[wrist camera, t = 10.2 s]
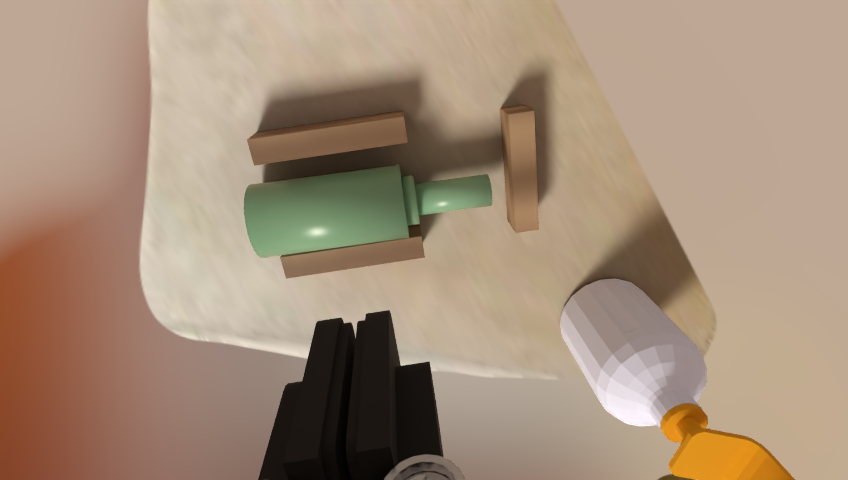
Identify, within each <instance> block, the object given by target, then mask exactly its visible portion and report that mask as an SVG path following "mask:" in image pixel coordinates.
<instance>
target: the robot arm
mask: <svg viewBox="0 0 848 480" xmlns="http://www.w3.org/2000/svg"><path fill="white" fill-rule="evenodd" d="M258 480H466V479H465V477H464V475H463V474H462V472H461V470H460V468H459V467H458V466H456V465H455V464H454V463H453V462H452V461H450V460H448V459H446V458H444V457H443V450H442V443H441V435H440V428H439V421H438V414H437V407H436V400H435V393H434V387H433V380H432V374H431V368H430V362H424V363H417V364H411V365H405V366H401V365H400V360H399V355H398V350H397V344H396V339H395V334H394V328H393V323H392V318H391V313H390V311H389V310H388V311H381V312H375V313H368V314H366V318H365V320H364V321H358V323H357V332H356V338H355V334H354V329H353V326H352V323H344V322H343V320H342V318H336V319H329V320H323V321H318V322H317V323H316V327H315V331H314V335H313V339H312V343H311V347H310V352H309V356H308V361H307V364H306V368H305V373H304V377H303V381H302V382H295V383H288V384H287V385H286V386H285V389H284V391H283V395H282V398H281V402H280V405H279V409H278V413H277V416H276V419H275V423H274V427H273V430H272V433H271V437H270V440H269V444H268V447H267V451H266V454H265V458H264V461H263V465H262V468H261V472H260V476H259V479H258Z"/></svg>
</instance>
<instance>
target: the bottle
mask: <svg viewBox="0 0 848 480" xmlns="http://www.w3.org/2000/svg"><path fill="white" fill-rule="evenodd" d="M491 205H492V190H491V183H490V179H489V176H488V174H484V175H477V176H469V177H462V178H455V179H447V180H440V181H432V182H425V183H418V184H414V177H413V175H412V176H405V177H401V173H400V166H399V165H393V166H386V167H378V168H371V169H363V170H356V171H349V172H341V173H334V174H326V175H319V176H311V177H304V178H296V179H289V180H282V181H274V182H267V183H259V184H252V185H249V186H248V187H247V189H246V192H245V198H244V215H245V223H246V228H247V232H248V236H249V239H250V242H251V244H252V247H253V249H254V251H255V252H256V254H257V255H258V256H259V257H261V258H265V257H272V256H280V255H287V254H294V253H301V252H309V251H316V250H323V249H331V248H338V247H345V246H352V245H360V244H367V243H374V242H382V241H389V240H396V239H403V238H409V231H408V226H409V225H416V224H420V221H419V215H426V214H433V213H441V212H448V211H455V210H463V209H470V208H477V207H485V206H491Z"/></svg>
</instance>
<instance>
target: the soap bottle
mask: <svg viewBox="0 0 848 480" xmlns="http://www.w3.org/2000/svg"><path fill="white" fill-rule="evenodd" d="M560 327H561V334H562V337H563V339H564V340H565V342H566V344H567V346H568V347H569V349H570V351H571V353H572V354H573V356H574V358H575V359H576V361H577V363H578V365H579V366H580V368H581V370H582V372H583V373H584V375H585V377H586V378H587V380H588V382H589V384H590V385H591V387H592V389H593V390H594V392H595V394H596V396H597V398H598V399H599V401H600V402H601V404H602V405H603V407H604V408H605V410H606V411H608V412H609V413H611V414H612V415H613V416H615V417H616V418H618V419H620V420H621V421H623V422H625V423H626V424H631V425H636V426H652V425H658V426H659V428H660V429H661V431H662V432H663V433H664V434H665V436H666V437H667V438H668V439H669V440H671V441H673V442H679V443H680V442H681V445H680V447H679V449H678V450H677V452H676V453H675V455H674V457H673V458H672V459H671V461H670V463H669V469H670V470H671V472H672V473H673V474H674V475H675V476H679V477H685V478H691V479H697V480H795V479H794V478H793V477H792V476H791V475H790V474H789V473H788V471H787V470H786V469H785V468H784V467H783V466H782V465H781V464H780V463H779V462H778V460H776V458H775V457H774V456H773V455H772V454H771V453H770V452H769V451H768V450H767V449H766V448H765V447H764V446H762V445H761V444H759V443H758V442H757V441H755V440H753V439H751V438H748V437H746V436H741V435H737V434H731V433H726V432H721V431H716V430H711V429H706V426H707V424H708V418H707V415H706V414H705V413H704V412H703V410H702V409H701V407H700V406H699V405H698V404H697V401H698V399H699V398H700V396H701V394H702V391H703V389H704V387H705V384H706V381H707V380H706V379H707V378H706V377H707V373H706V369H707V368H706V365H705V362H704V359H703V357H702V355H701V353H700V351H699V349H698V347H697V345H696V344H695V343H694V342H693V341H692V340H691V339H690V338H689V337H688V336H687V335H686V334H685V333H684V332H683V331H682V330H681V329H680V328H679V327H678V326H677V325H676V324H675V323H674V322H673V321H672V320H671V319H670V318H669V317H668V316H667V315H666V314H665V313H664V312H663V311H662V310H661V309H660V308H659V307H658V306H657V305H656V304H655V303H654V302H653V301H652V300H651V299H650V298H649V297H648V296H647V295H646V294H645V293H644V292H643V291H642V290H641V289H640V288H638V287H637V286H635V285H634V284H633V283H631V282H628V281H624V280H620V279H615V278H614V279H603V280H598V281H595V282H593V283H590V284H588V285H585V286H584V287H582V288H581V289H580V290H579V291H577V292H576V293H575V294H574V295H572V296H571V298H570V299H569V301H568V302H567V304H566V305H565V307H564V308H563V312H562V316H561V320H560Z"/></svg>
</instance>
